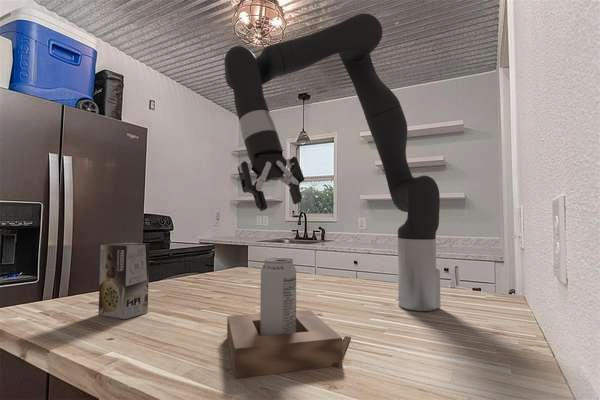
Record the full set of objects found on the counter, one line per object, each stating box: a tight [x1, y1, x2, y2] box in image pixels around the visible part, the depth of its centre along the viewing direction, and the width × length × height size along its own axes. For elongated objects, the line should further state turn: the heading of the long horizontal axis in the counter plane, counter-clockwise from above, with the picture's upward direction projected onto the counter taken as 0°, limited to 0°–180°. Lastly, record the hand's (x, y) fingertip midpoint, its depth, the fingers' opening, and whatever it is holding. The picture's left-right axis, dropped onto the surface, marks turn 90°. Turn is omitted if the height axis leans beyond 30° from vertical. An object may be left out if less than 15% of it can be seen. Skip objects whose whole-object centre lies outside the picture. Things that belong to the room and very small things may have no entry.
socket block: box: [226, 309, 343, 379], centre depth 55 cm, size 16×16×4 cm
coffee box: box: [98, 242, 151, 320], centre depth 76 cm, size 9×6×16 cm
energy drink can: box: [259, 257, 297, 336], centre depth 55 cm, size 6×6×15 cm
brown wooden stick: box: [330, 335, 352, 369], centre depth 55 cm, size 13×1×1 cm, turn 163°
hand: (281, 206), depth 69 cm, fingers open, 8 cm apart
